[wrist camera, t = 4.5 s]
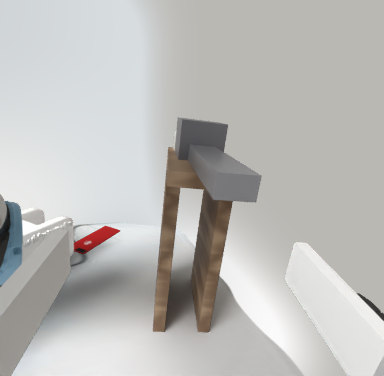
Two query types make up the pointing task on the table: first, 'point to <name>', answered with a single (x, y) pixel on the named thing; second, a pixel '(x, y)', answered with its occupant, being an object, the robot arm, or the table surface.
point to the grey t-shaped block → (215, 161)
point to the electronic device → (94, 239)
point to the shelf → (205, 246)
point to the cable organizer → (42, 230)
